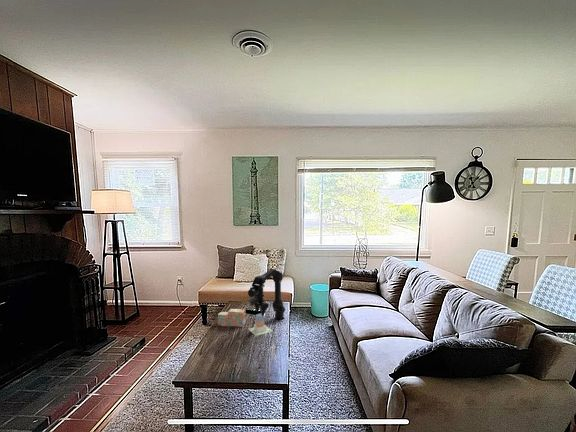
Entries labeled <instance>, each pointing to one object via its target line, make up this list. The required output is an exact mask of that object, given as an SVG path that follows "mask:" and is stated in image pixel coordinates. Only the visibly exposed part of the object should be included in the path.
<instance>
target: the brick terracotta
mask: <svg viewBox="0 0 576 432" xmlns="http://www.w3.org/2000/svg"><path fill="white" fill-rule="evenodd" d="M255 324H256V326H258V327H262V326H264V325H265V320H264V321H261V322H258V321H256V320H255Z"/></svg>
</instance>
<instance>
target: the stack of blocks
mask: <svg viewBox="0 0 576 432" xmlns="http://www.w3.org/2000/svg"><path fill="white" fill-rule="evenodd" d="M217 325H218V326H221V327H240V328H243V327H244V326H245V325H246V309H241V308H230V309H229V310H228V311H220V312H219V313H218V314H217Z"/></svg>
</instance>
